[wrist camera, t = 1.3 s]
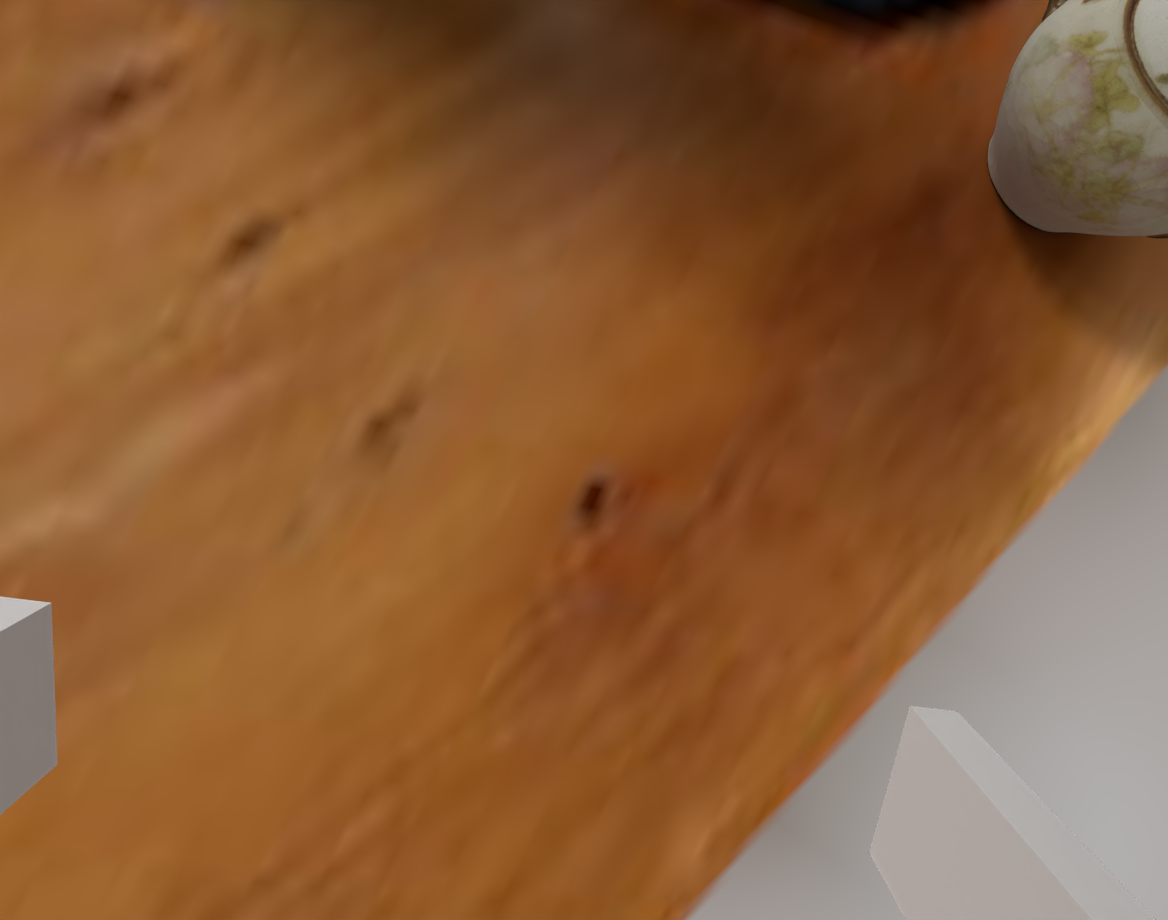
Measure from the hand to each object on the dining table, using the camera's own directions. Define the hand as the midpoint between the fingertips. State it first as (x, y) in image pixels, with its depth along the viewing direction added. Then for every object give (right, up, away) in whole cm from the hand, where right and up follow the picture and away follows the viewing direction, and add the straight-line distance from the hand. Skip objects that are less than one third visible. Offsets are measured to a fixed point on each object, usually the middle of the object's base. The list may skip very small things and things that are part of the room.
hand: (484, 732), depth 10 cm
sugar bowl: (+32, +23, +35) cm, 53 cm away
